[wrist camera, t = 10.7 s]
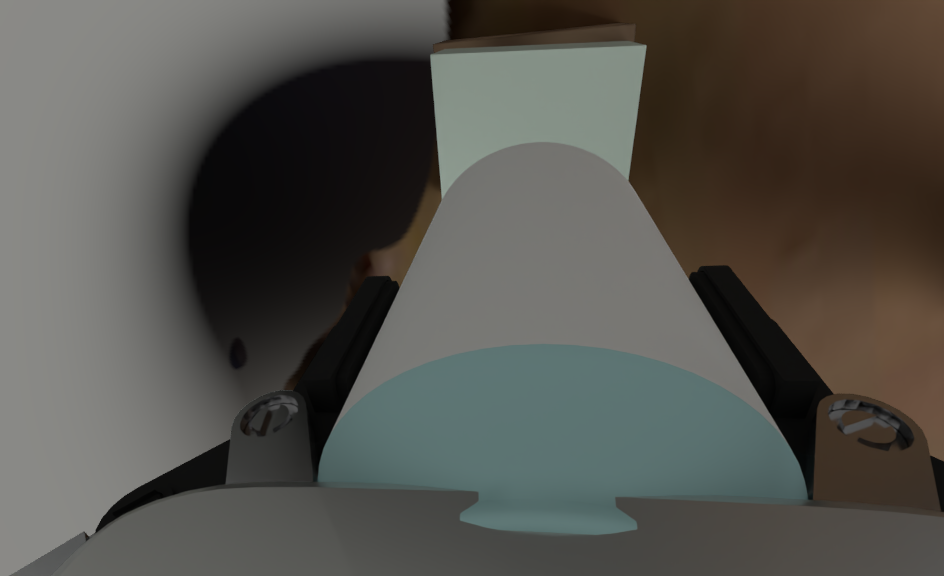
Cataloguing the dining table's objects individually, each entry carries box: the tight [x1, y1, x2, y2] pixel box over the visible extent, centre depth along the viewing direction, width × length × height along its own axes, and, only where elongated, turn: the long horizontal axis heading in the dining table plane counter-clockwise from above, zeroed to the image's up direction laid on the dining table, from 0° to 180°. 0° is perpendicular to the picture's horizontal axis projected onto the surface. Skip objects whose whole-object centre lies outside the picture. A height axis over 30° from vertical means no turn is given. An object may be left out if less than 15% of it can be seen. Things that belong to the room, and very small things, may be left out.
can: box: [317, 142, 808, 535], centre depth 10 cm, size 7×7×12 cm
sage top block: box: [430, 41, 647, 199], centre depth 25 cm, size 10×10×4 cm
